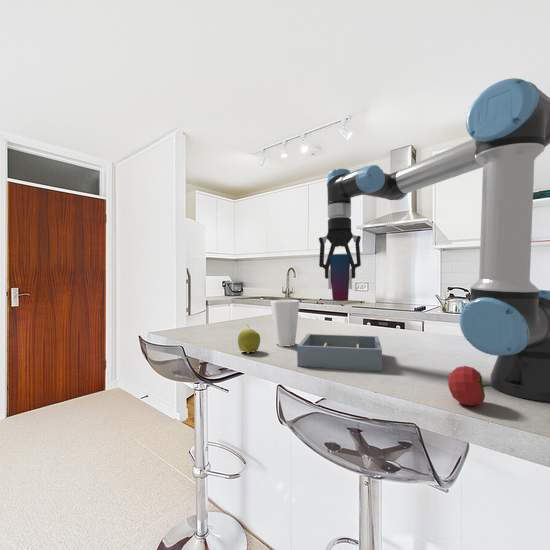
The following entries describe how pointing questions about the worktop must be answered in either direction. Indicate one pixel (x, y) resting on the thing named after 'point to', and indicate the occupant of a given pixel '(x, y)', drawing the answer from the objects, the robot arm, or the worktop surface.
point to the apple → (248, 340)
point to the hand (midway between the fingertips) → (340, 288)
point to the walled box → (340, 352)
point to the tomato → (466, 386)
